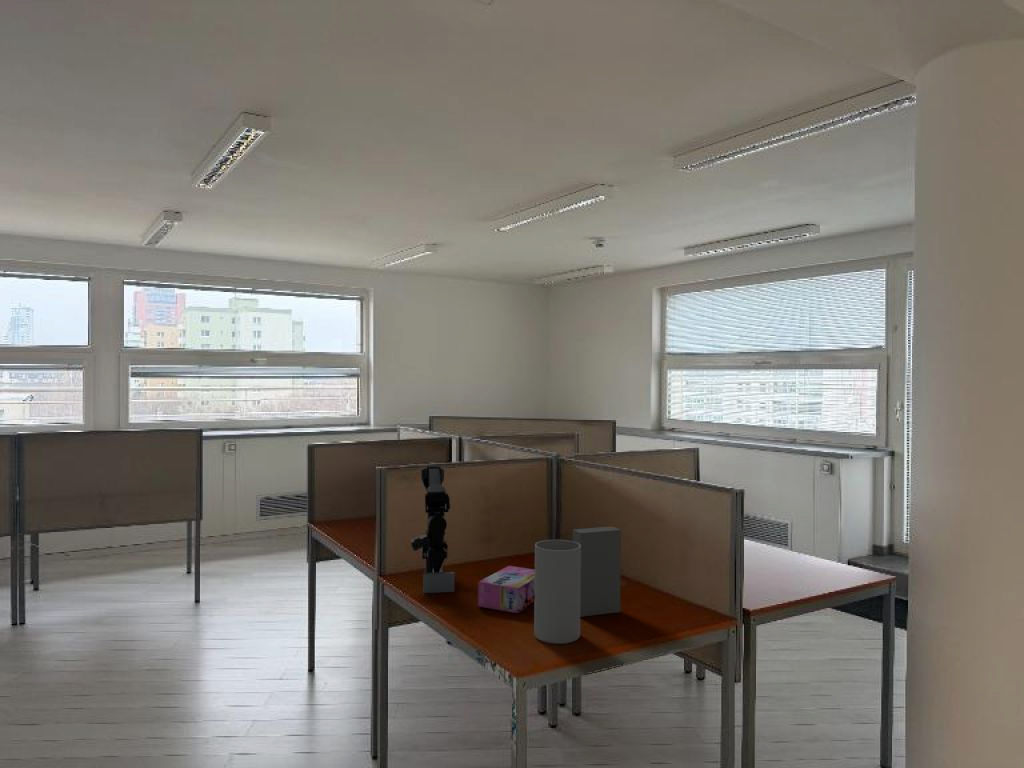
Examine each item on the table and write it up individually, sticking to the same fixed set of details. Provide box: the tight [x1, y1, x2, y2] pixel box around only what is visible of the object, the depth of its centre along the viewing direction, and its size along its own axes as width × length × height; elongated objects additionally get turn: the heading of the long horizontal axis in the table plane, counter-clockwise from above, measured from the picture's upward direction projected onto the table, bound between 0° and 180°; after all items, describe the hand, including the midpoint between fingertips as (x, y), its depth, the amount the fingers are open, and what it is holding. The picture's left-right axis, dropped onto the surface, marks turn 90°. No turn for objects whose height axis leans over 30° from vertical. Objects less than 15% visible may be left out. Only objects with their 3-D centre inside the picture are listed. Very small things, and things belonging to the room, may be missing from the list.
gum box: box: [477, 565, 535, 614], centre depth 226 cm, size 24×8×14 cm
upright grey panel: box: [572, 526, 622, 618], centre depth 215 cm, size 14×6×25 cm, turn 111°
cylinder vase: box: [533, 539, 581, 645], centre depth 194 cm, size 12×12×25 cm
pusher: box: [422, 565, 455, 594], centre depth 238 cm, size 10×10×7 cm
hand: (435, 573), depth 241 cm, fingers open, 4 cm apart
